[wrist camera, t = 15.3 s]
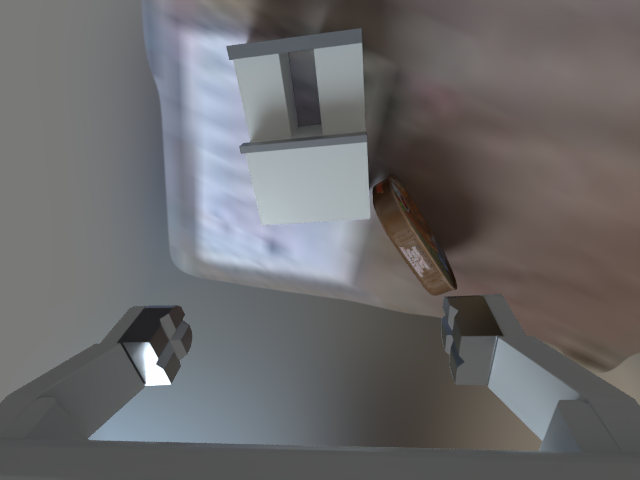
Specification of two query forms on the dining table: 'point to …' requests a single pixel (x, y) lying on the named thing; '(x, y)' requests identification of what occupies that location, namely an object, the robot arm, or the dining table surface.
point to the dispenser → (305, 130)
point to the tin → (412, 236)
